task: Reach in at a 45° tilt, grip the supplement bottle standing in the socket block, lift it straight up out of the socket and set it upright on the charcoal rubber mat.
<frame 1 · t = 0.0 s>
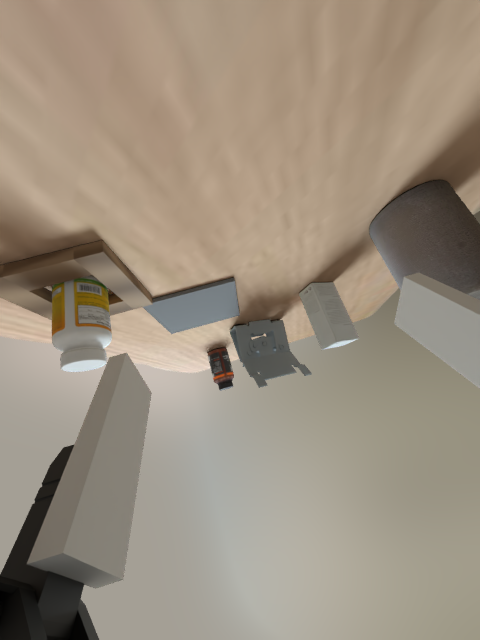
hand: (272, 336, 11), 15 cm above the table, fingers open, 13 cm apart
bracket: (256, 322, 58), on the table
supplement bottle: (81, 284, 28), resting in socket block
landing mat: (197, 308, 42), on the table
supplement bottle 2: (216, 350, 72), on the table
skincare box: (315, 286, 48), on the table
pillar candle: (403, 211, 32), on the table
socket block: (81, 286, 28), on the table
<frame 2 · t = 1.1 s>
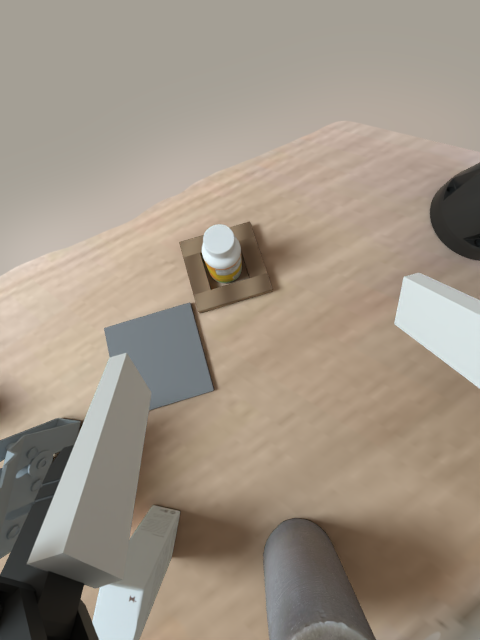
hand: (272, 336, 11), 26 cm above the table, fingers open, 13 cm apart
bracket: (64, 465, 35), on the table
supplement bottle: (225, 269, 40), resting in socket block
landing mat: (158, 358, 37), on the table
skincare box: (162, 529, 33), on the table
pillar candle: (298, 556, 32), on the table
socket block: (225, 268, 40), on the table
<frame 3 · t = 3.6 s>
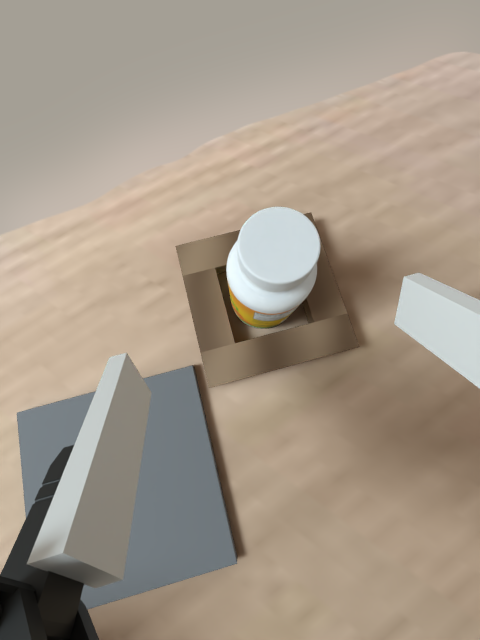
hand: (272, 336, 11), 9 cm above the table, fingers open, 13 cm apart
supplement bottle: (261, 299, 21), resting in socket block
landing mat: (124, 480, 18), on the table
socket block: (262, 298, 21), on the table
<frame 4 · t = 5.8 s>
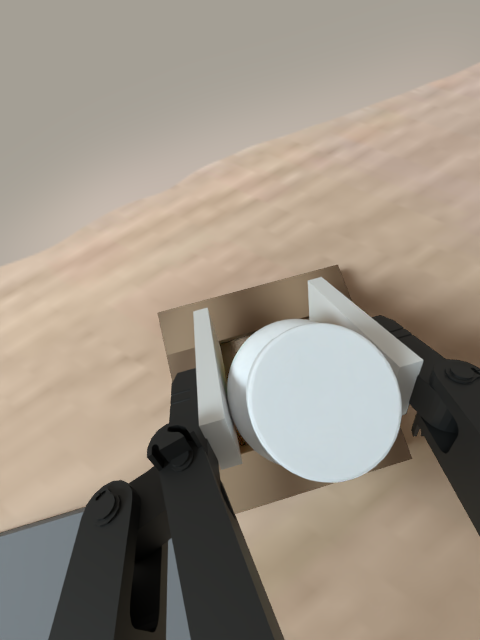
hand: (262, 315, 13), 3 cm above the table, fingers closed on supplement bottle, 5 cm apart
supplement bottle: (273, 380, 16), resting in socket block, touching gripper
socket block: (274, 380, 16), on the table
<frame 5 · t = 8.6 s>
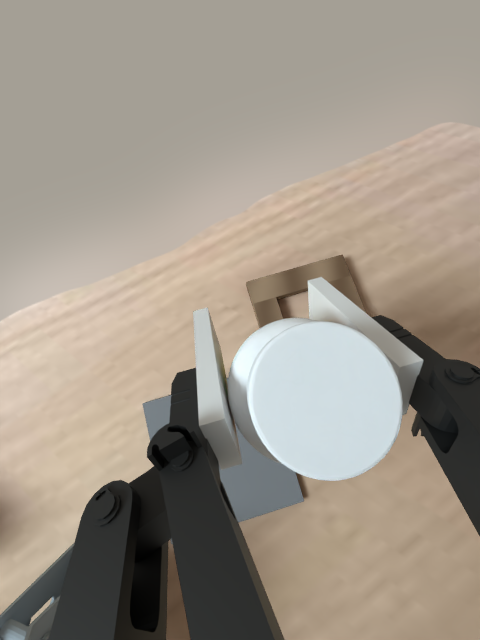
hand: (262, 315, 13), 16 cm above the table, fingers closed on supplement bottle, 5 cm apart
bracket: (85, 614, 24), on the table
supplement bottle: (273, 379, 16), point 12 cm above the table, touching gripper
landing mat: (220, 448, 26), on the table
socket block: (308, 317, 29), on the table
when the fingers open (5 cm above the table, at t = 11.6 s): supplement bottle drops 1 cm, resting on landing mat.
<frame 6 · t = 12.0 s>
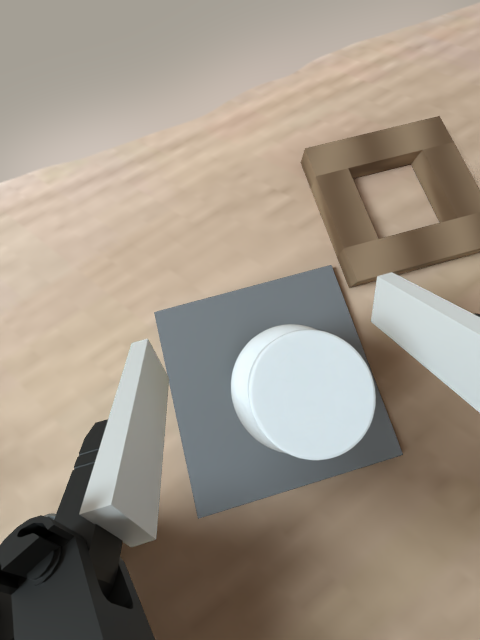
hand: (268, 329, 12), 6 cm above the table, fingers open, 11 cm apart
supplement bottle: (273, 378, 17), resting on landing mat
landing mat: (270, 378, 18), on the table
socket block: (390, 204, 20), on the table
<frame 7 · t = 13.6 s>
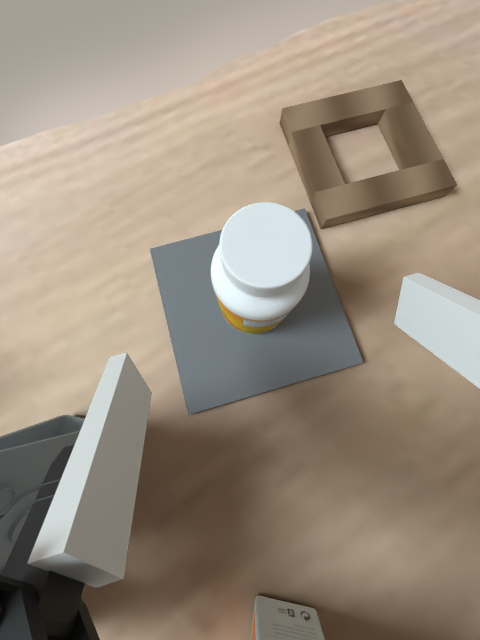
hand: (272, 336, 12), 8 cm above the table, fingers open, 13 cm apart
bracket: (72, 511, 17), on the table
supplement bottle: (253, 303, 20), resting on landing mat
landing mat: (251, 304, 20), on the table
socket block: (358, 158, 23), on the table
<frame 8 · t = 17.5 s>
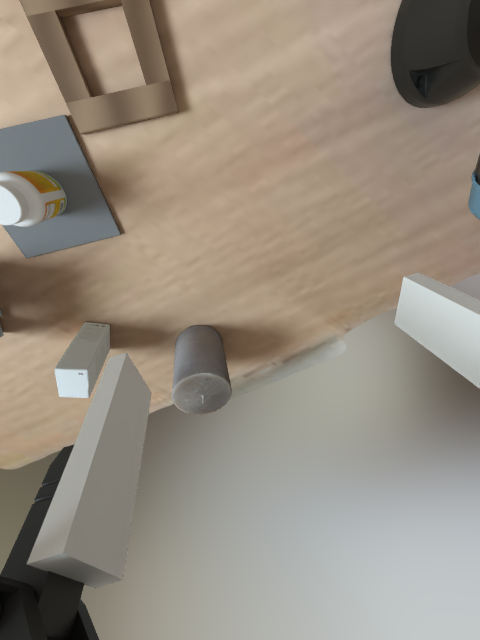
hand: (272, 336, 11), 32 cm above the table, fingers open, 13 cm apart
supplement bottle: (45, 194, 32), resting on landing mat
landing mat: (45, 194, 32), on the table
skincare box: (98, 335, 45), on the table
pillar candle: (198, 343, 50), on the table
socket block: (107, 55, 27), on the table
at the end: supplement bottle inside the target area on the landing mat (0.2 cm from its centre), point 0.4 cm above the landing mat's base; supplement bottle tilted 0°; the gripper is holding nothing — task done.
